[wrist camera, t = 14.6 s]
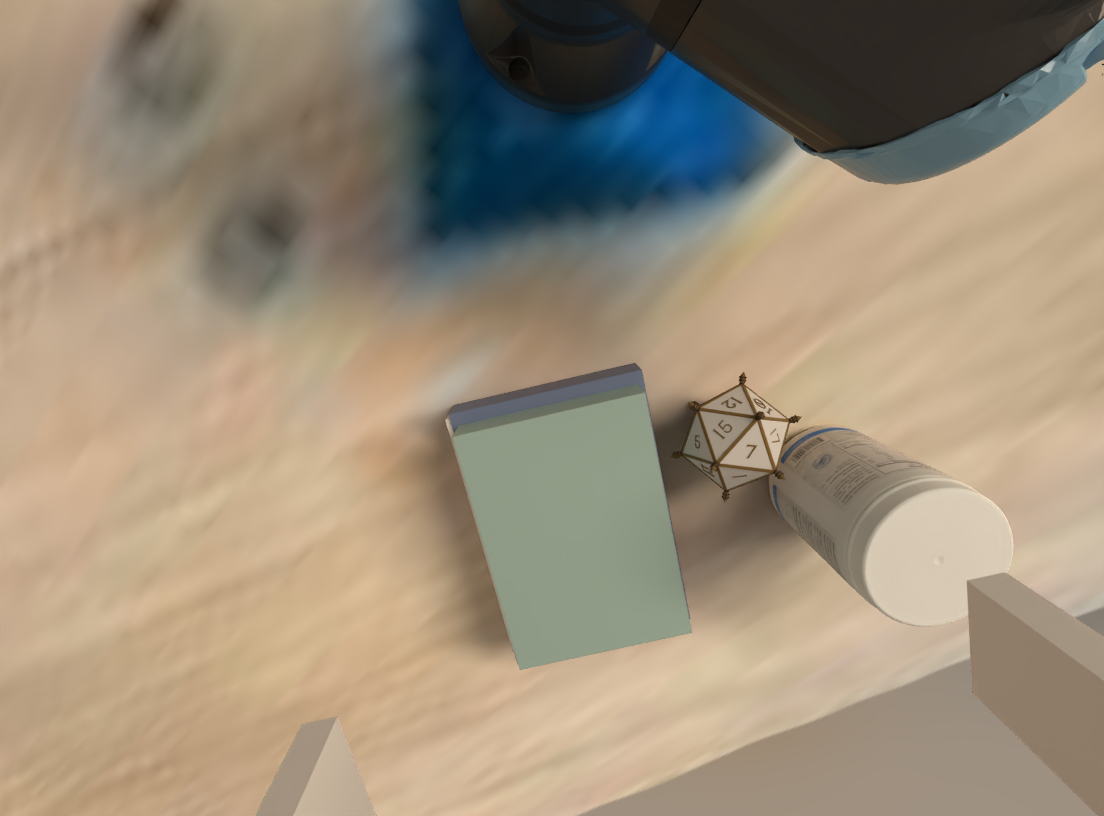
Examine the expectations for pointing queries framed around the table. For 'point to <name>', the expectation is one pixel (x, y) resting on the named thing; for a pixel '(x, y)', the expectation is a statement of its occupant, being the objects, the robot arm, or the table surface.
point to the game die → (736, 438)
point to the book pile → (572, 515)
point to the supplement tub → (890, 523)
